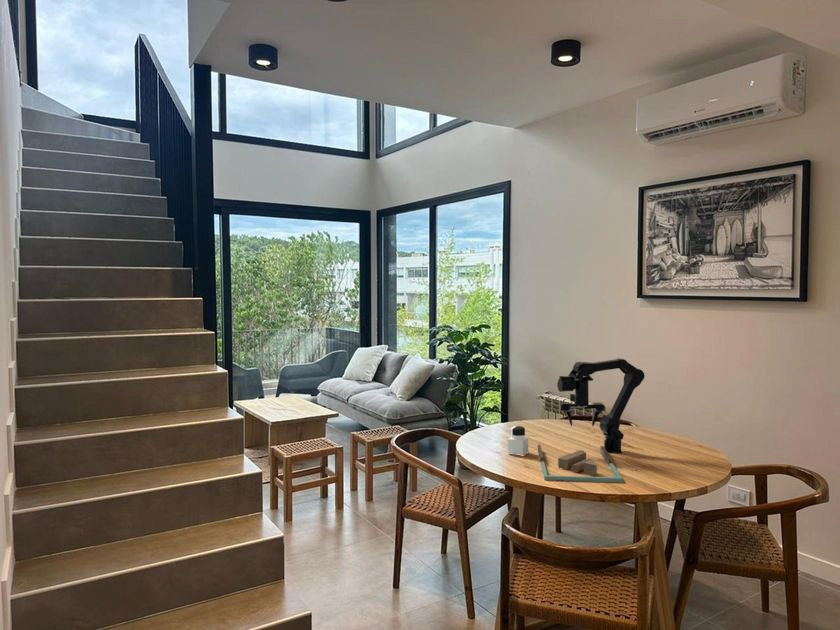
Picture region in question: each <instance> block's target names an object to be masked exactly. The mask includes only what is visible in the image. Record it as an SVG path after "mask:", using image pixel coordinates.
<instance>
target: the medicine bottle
mask: <svg viewBox="0 0 840 630" xmlns="http://www.w3.org/2000/svg"><path fill="white" fill-rule="evenodd" d="M527 452H528V453H529V436H526V428H525V427H524V426H520V425H515V426H512V427H511V428H510V437H509V438H507V454H508V453H513V454H520V455H524V454H525V453H527ZM528 453H527V454H528ZM524 456H525V455H524Z"/></svg>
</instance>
